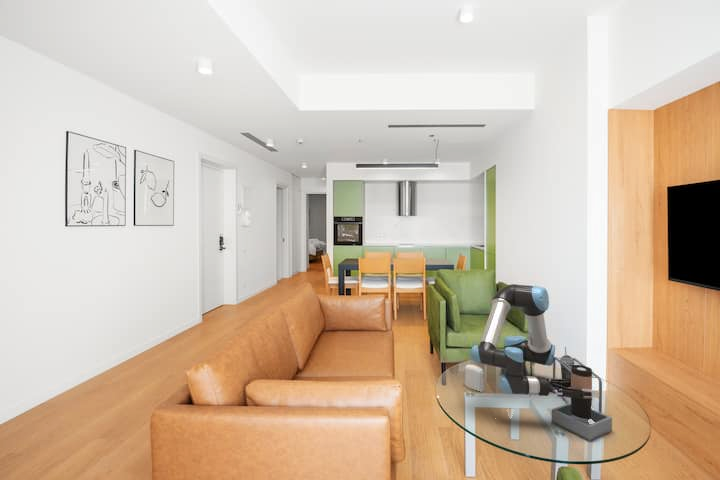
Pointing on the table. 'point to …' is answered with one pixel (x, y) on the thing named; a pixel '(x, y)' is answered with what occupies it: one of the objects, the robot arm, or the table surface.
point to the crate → (582, 423)
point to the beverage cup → (568, 362)
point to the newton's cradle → (570, 378)
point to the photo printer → (474, 377)
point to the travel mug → (581, 380)
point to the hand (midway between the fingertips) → (593, 389)
